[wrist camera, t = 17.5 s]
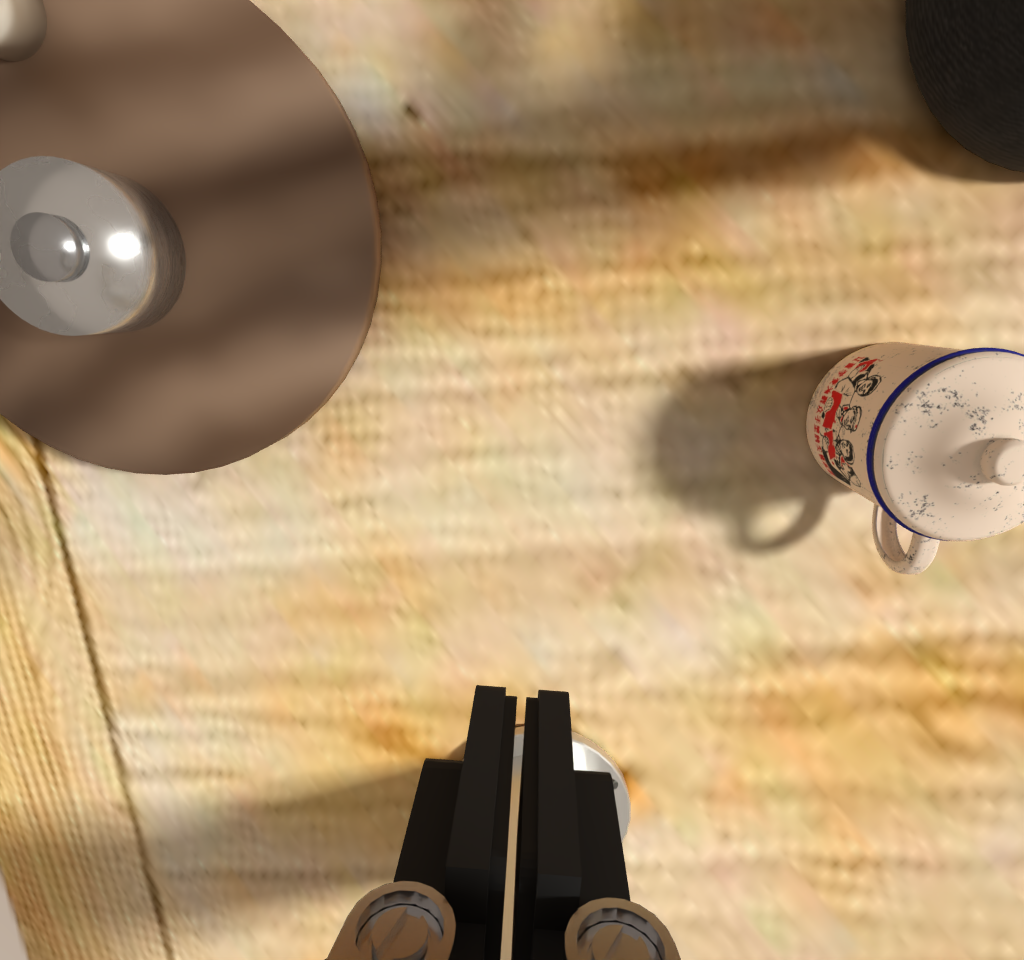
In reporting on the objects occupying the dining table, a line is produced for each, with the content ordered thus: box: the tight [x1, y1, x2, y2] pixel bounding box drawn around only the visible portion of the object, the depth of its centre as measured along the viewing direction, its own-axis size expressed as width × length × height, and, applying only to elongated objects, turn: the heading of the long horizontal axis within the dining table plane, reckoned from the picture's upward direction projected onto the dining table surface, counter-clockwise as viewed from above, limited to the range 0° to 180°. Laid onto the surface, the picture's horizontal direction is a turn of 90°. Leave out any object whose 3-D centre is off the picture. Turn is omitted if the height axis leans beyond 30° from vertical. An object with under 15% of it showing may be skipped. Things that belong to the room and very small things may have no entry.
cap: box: [0, 156, 186, 336], centre depth 33 cm, size 8×8×5 cm
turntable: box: [0, 0, 381, 475], centre depth 34 cm, size 26×26×6 cm
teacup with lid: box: [806, 342, 1024, 574], centre depth 34 cm, size 12×9×12 cm
